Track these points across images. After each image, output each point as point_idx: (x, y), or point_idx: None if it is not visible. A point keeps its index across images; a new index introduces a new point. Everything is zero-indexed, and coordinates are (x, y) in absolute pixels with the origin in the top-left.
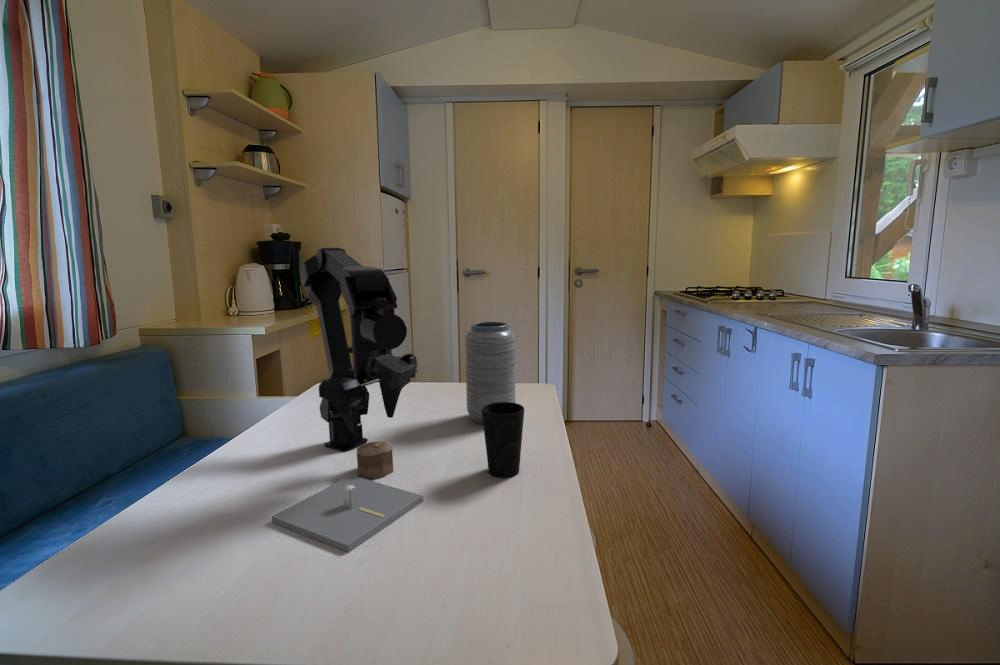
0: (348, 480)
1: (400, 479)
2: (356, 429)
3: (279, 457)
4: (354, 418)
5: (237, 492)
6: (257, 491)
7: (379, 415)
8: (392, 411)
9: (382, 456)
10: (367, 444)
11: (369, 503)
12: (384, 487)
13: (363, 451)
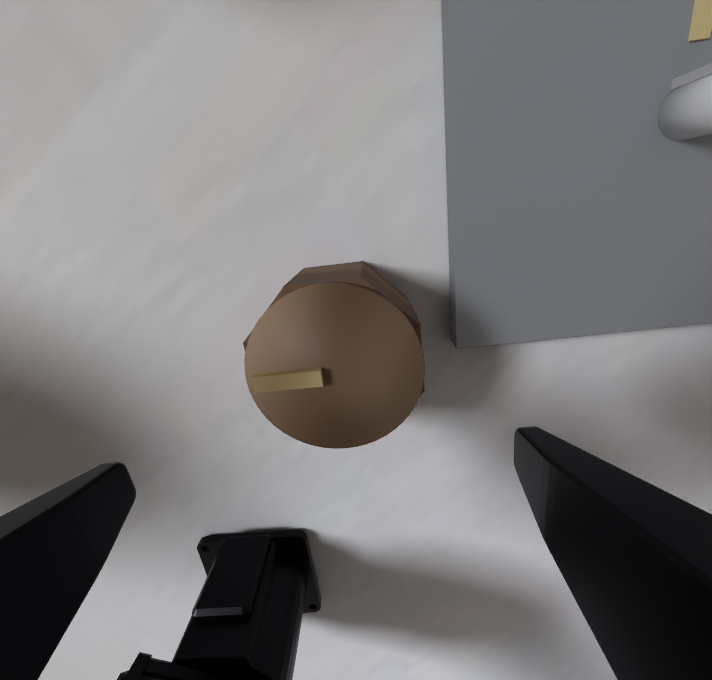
0: (499, 318)
1: (333, 182)
2: (543, 438)
3: (449, 628)
4: (690, 514)
5: None
6: None
7: None
8: (72, 492)
9: (360, 276)
10: (326, 432)
11: (636, 41)
12: (474, 123)
13: (399, 381)
